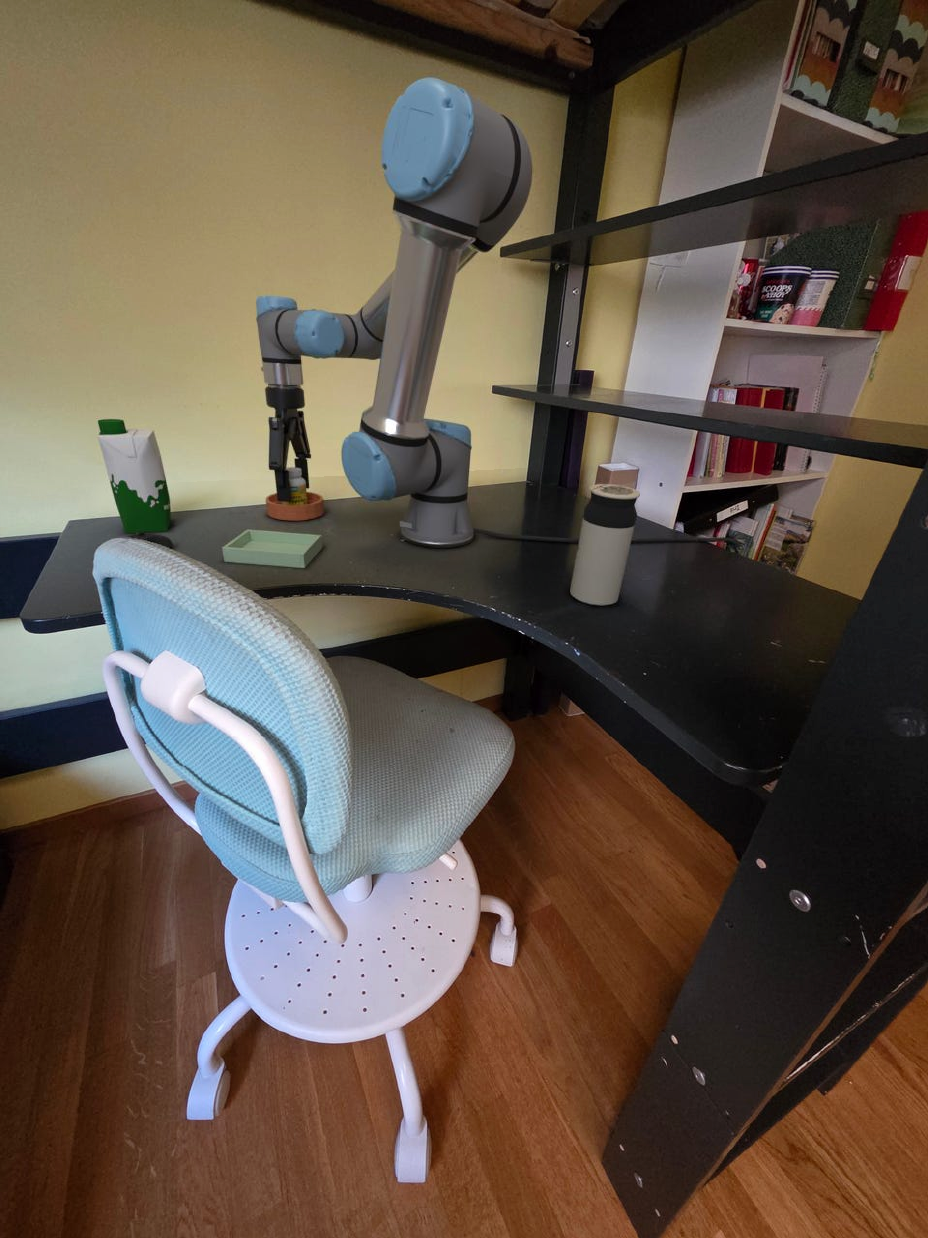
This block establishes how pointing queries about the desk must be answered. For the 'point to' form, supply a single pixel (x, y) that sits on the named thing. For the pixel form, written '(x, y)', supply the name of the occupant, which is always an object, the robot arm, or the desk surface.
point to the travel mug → (604, 544)
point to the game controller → (153, 538)
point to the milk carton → (135, 476)
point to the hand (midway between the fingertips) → (294, 494)
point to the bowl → (295, 508)
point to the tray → (273, 548)
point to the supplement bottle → (297, 487)
